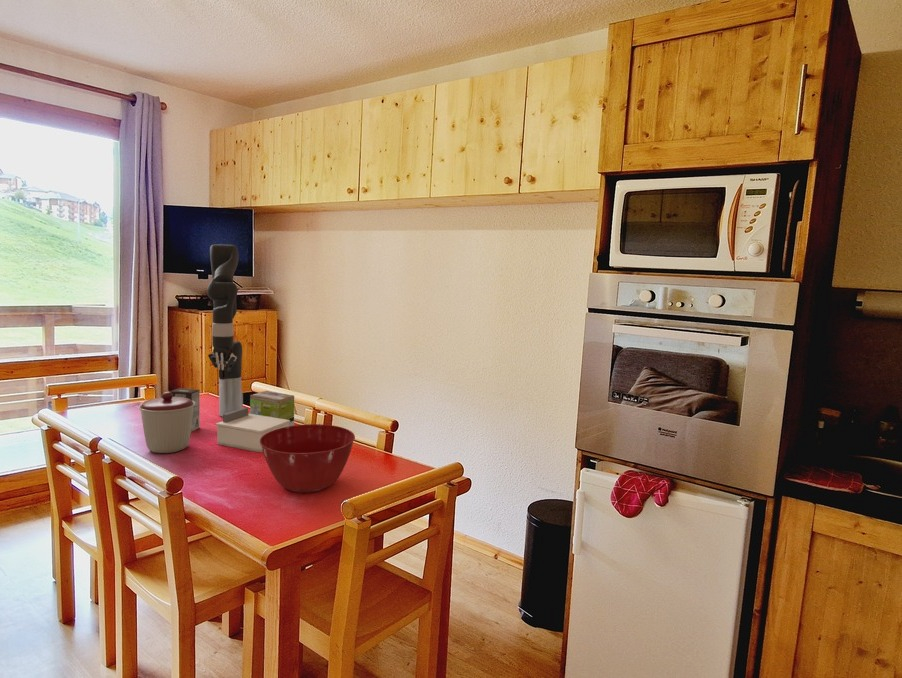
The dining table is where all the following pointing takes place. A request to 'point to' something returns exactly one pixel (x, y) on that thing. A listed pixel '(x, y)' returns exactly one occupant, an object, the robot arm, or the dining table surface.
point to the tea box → (273, 405)
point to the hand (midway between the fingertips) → (223, 379)
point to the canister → (167, 422)
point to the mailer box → (242, 438)
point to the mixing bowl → (307, 455)
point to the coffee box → (194, 396)
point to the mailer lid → (250, 421)
